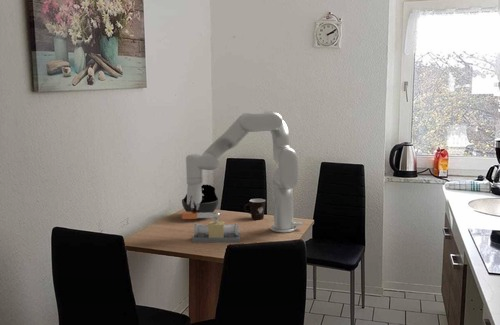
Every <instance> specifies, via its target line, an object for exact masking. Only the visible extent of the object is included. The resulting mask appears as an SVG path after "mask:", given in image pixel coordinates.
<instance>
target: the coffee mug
mask: <svg viewBox="0 0 500 325" xmlns="http://www.w3.org/2000/svg"><path fill="white" fill-rule="evenodd" d="M247 206H249V208H250V211H248V210H247V209H246V208H247ZM243 208H244V211H245V212H246V213H248V214H250V215H251V216H250V217H251V220H255V221H261V220H264V217H265V208H266V199H263V198H251V199H250V200H249V203H246V204H245V205H244V207H243Z"/></svg>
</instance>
